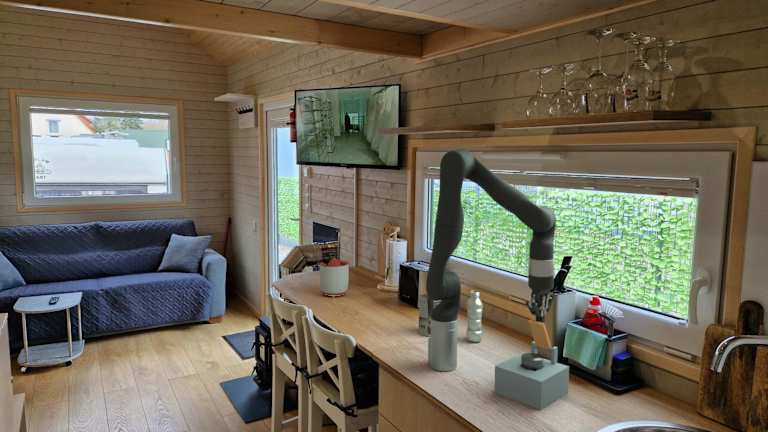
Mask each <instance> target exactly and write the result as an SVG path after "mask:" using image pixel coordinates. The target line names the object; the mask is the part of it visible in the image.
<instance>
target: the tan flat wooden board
mask: <svg viewBox="0 0 768 432" xmlns="http://www.w3.org/2000/svg"><path fill="white" fill-rule="evenodd" d="M528 324H529V328H530V331H531V334H532V337H533V341H535V344H536V349H537V350H540V351H543V352H546V353H549V354H551V348H553V347H552V344H551V340H550V337H549V334H548V331H547V327H546V322H545V323H542V322H538V321H536V320H533V319H529V320H528Z"/></svg>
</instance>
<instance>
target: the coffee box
mask: <svg viewBox="0 0 768 432" xmlns="http://www.w3.org/2000/svg"><path fill="white" fill-rule="evenodd" d="M440 302H441V300H438V301H434V300H431V299H430V298H429V297H428V295H427V293H425V294H424V293H423V294H420V295H419V296H418V334H419V335H422V336H425V337H428V338H430V337H431V310H432V309H433V308H434V307H435V306H437V305H438V304H439V303H440Z"/></svg>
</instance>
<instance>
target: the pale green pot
mask: <svg viewBox="0 0 768 432" xmlns="http://www.w3.org/2000/svg"><path fill="white" fill-rule="evenodd" d="M318 264H319V265H318V266H319V285H320V288H321V292H322V295H323V294H327V295H342V294H345V293H346V294H347V291H348V287H349V279H350V278H349V277H350V275H349V274H350V272H349V271H350V270H349V264H350V262H349V261H346V260H338V258H336V257H332V258H331V259H330V260H329V262H328V263H327V264H325V262H323V261H321V262H318ZM346 294H345V295H346Z"/></svg>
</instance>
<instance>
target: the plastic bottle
mask: <svg viewBox="0 0 768 432" xmlns="http://www.w3.org/2000/svg"><path fill="white" fill-rule="evenodd" d="M469 293H470V294H469V296H470V297H469V299H468V300H467V301H466V313H467V325H466V326H467V327H466V331H465V332H466V333H465V336H466V339H467V341H469V342H471V343H479V342H481V341H482V340H483V327H482V316H483V307H484V304H483V302H482V299H481V298H480V296H481V294H480V291H479V290H476V289H475V290H472V289H471V290H470V291H469Z"/></svg>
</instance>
